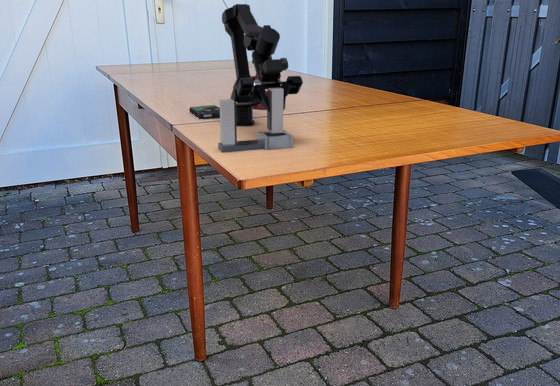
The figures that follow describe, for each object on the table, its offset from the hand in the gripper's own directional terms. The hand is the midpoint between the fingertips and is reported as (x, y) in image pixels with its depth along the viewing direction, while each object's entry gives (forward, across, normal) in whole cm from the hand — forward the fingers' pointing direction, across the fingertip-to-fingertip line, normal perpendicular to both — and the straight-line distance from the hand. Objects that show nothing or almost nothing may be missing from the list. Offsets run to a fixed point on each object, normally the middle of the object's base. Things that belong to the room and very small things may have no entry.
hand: (276, 110), depth 153 cm
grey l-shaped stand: (+7, -6, +8) cm, 12 cm away
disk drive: (-29, -9, +45) cm, 54 cm away
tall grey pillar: (+4, 0, +6) cm, 7 cm away
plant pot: (-35, +16, +51) cm, 64 cm away
